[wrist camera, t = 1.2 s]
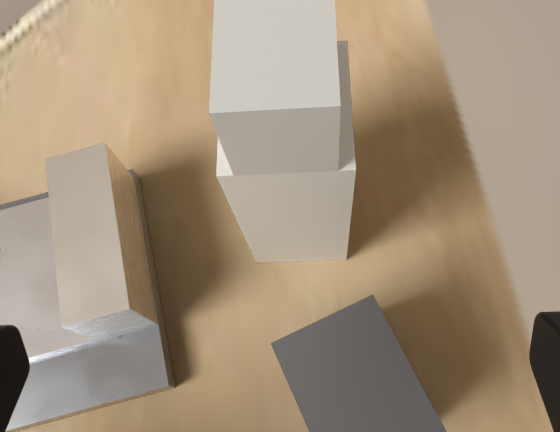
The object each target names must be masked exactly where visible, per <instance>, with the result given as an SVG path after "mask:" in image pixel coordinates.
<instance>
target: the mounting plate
mask: <svg viewBox="0 0 560 432" xmlns="http://www.w3.org/2000/svg"><path fill="white" fill-rule="evenodd" d="M45 162H46V172H47V183H48V192H47V193H43V194H40V195H36V196H32V197H29V198H25V199H21V200H17V201H14V202H10V203H6V204H3V205H0V325H14V326H16V327H17V328H18V329H19V331H20V334H21V337H22V340H23V343H24V346H25V349H26V352H27V355H28V358H29V362H30V371H29V375H28V378H27V380H26V383H25V385H24V387H23V390H22V392H21V395H20V397H19V400H18V402H17V405H16V407H15V409H14V412H13V414H12V417H11V419H10V422H9V424H8V426H7V429H6V431H5V432H15V431H19V430H23V429H26V428H30V427H34V426H37V425H41V424H44V423H48V422H52V421H55V420H59V419H63V418H66V417H70V416H73V415H77V414H81V413H84V412H88V411H92V410H95V409H99V408H102V407H106V406H110V405H113V404H117V403H121V402H124V401H128V400H131V399H135V398H139V397H142V396H146V395H150V394H153V393H157V392H161V391H164V390H168V389H171V388H175V381H174V376H173V370H172V364H171V358H170V352H169V346H168V341H167V335H166V329H165V323H164V317H163V311H162V306H161V300H160V294H159V288H158V282H157V276H156V271H155V265H154V259H153V253H152V247H151V241H150V236H149V230H148V224H147V218H146V212H145V206H144V200H143V195H142V189H141V183H140V178H139V177H138V176H137V174H136V173H135V172H134V171H133V169H132V170H127V169H126V168H125V167H124V166H123V164H122V163H121V162H120V161H119V159H118V158H117V157H116V156H115V154H114V153H113V152H112V151H111V149H110V148H109V147H108V146H107V145H106V143H102V144H99V145H95V146H91V147H88V148H84V149H80V150H77V151H73V152H69V153H65V154H62V155H58V156H54V157H51V158H47V159H45Z"/></svg>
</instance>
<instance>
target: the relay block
mask: <svg viewBox="0 0 560 432" xmlns="http://www.w3.org/2000/svg"><path fill="white" fill-rule="evenodd" d="M271 345H272V347H273V350H274V352H275V354H276V356H277V359H278V361H279V363H280V365H281V368H282V370H283V372H284V375H285V377H286V379H287V381H288V384H289V386H290V388H291V391H292V393H293V395H294V397H295V400H296V402H297V404H298V407H299V409H300V411H301V413H302V416H303V418H304V420H305V422H306V425H307V427H308V429H309V432H446V430H445V428H444V426H443V424H442V422H441V421H440V419H439V417H438V415H437V413H436V411H435V409H434V408H433V406H432V404H431V402H430V400H429V398H428V396H427V394H426V393H425V391H424V389H423V387H422V385H421V383H420V381H419V380H418V378H417V376H416V374H415V372H414V370H413V368H412V366H411V365H410V363H409V361H408V359H407V357H406V355H405V353H404V352H403V350H402V348H401V346H400V344H399V342H398V340H397V338H396V337H395V335H394V333H393V331H392V329H391V327H390V325H389V323H388V322H387V320H386V318H385V316H384V314H383V312H382V310H381V309H380V307H379V305H378V303H377V301H376V299H375V297H374V295H371V296H369V297H367V298H365V299H363V300H361V301H359V302H357V303H354V304H352V305H350V306H348V307H346V308H344V309H342V310H340V311H338V312H336V313H333V314H331V315H329V316H327V317H325V318H323V319H321V320H319V321H317V322H315V323H312V324H310V325H308V326H306V327H304V328H302V329H300V330H298V331H296V332H294V333H291V334H289V335H287V336H285V337H283V338H281V339H279V340H277V341H275V342H273V343H271Z"/></svg>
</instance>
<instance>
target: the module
mask: <svg viewBox="0 0 560 432" xmlns="http://www.w3.org/2000/svg"><path fill="white" fill-rule="evenodd" d="M209 115H210V117H211V120H212V122H213V125H214V127H215V130H216V133H217V135H218V145H217V170H216V177H217V179H218V181H219V183H220V185H221V188H222V190H223V192H224V194H225V196H226V198H227V201H228V203H229V205H230V207H231V209H232V211H233V213H234V216H235V218H236V220H237V222H238V224H239V226H240V228H241V231H242V233H243V235H244V237H245V239H246V241H247V244H248V246H249V248H250V250H251V252H252V254H253V256H254V259H255V261H256V263H270V262H301V261H333V260H346V259H347V250H348V241H349V231H350V222H351V213H352V203H353V194H354V185H355V175H356V161H355V146H354V131H353V116H352V101H351V86H350V71H349V56H348V41H337V35H336V17H335V0H214V19H213V39H212V60H211V80H210V101H209Z"/></svg>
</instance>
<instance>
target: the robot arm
mask: <svg viewBox="0 0 560 432" xmlns="http://www.w3.org/2000/svg"><path fill="white" fill-rule="evenodd" d="M529 358H530V364H531V368H532V371H533V374H534V377H535V379H536V382H537V385H538V388H539V391H540V394H541V397H542V399H543V402H544V405H545V408H546V411H547V414H548V416H549V419H550V422H551V425H552V428H553V431H554V432H560V312H540V313H539V314H537V316H536V317H535V321H534V326H533V333H532V339H531V346H530V353H529ZM29 371H30V362H29V358H28V355H27V352H26V349H25V346H24V343H23V340H22V337H21V334H20V331H19V329H18V328H17V327H16V326H14V325H0V432H5V431H6V429H7V426H8V424H9V422H10V419H11V417H12V414H13V412H14V409H15V407H16V405H17V402H18V400H19V397H20V395H21V392H22V390H23V387H24V385H25V383H26V380H27V378H28V375H29Z"/></svg>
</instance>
